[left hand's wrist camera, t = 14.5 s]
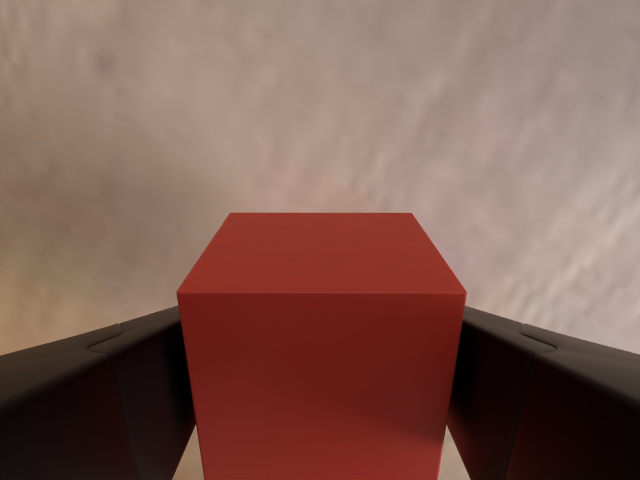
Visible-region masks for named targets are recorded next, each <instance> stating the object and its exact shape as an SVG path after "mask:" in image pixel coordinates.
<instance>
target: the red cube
mask: <svg viewBox="0 0 640 480" xmlns="http://www.w3.org/2000/svg"><path fill="white" fill-rule="evenodd" d="M466 295H467V292H466V290H465V289H464V287H463V286H462V285H461V283H460V282H459V280H458V279H457V277H456V276H455V274H454V273H453V272H452V270H451V269H450V267H449V266H448V264H447V263H446V262H445V260H444V259H443V257H442V256H441V254H440V253H439V251H438V250H437V249H436V247H435V246H434V244H433V243H432V241H431V240H430V239H429V237H428V236H427V234H426V233H425V231H424V230H423V229H422V227H421V226H420V224H419V223H418V221H417V220H416V218H415V217H414V216H413V214H412V213H230V214H229V215H228V217H227V218H226V220H225V221H224V223H223V224H222V226H221V227H220V229H219V230H218V232H217V233H216V235H215V236H214V237H213V239H212V240H211V242H210V243H209V245H208V246H207V248H206V249H205V251H204V252H203V254H202V255H201V257H200V258H199V260H198V261H197V263H196V264H195V265H194V267H193V268H192V270H191V271H190V273H189V274H188V276H187V277H186V279H185V280H184V282H183V283H182V285H181V286H180V288H179V289H178V291H177V299H178V305H179V312H180V319H181V325H182V332H183V339H184V346H185V352H186V359H187V366H188V372H189V379H190V386H191V393H192V399H193V406H194V413H195V419H196V426H197V433H198V440H199V446H200V453H201V460H202V466H203V473H204V480H438V474H439V468H440V461H441V455H442V449H443V442H444V436H445V429H446V423H447V417H448V410H449V404H450V397H451V391H452V384H453V378H454V372H455V365H456V359H457V352H458V346H459V340H460V333H461V327H462V320H463V314H464V308H465V301H466Z"/></svg>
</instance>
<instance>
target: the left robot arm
mask: <svg viewBox="0 0 640 480" xmlns="http://www.w3.org/2000/svg"><path fill="white" fill-rule="evenodd" d="M446 424H447V426H448V429H449V431H450V433H451V436H452V438H453V440H454V442H455V445H456V447H457V449H458V452H459V454H460V456H461V458H462V461H463V463H464V465H465V468H466V470H467V472H468V474H469V477H470V479H471V480H640V355H639V354H635V353H631V352H627V351H624V350H620V349H616V348H612V347H608V346H604V345H601V344H597V343H593V342H589V341H585V340H581V339H578V338H574V337H570V336H567V335H563V334H559V333H556V332H552V331H549V330H545V329H542V328H538V327H535V326H532V325H528V324H523V323H520V322H517V321H513V320H510V319H507V318H504V317H500V316H497V315H494V314H490V313H487V312H484V311H481V310H477V309H474V308H471V307H467V306H465V308H464V314H463V320H462V327H461V333H460V340H459V346H458V352H457V359H456V365H455V372H454V378H453V384H452V391H451V397H450V404H449V410H448V417H447V423H446ZM195 425H196V419H195V413H194V406H193V399H192V393H191V386H190V379H189V372H188V366H187V359H186V352H185V346H184V339H183V332H182V325H181V319H180V312H179V305H178V306H175V307H172V308H168V309H165V310H162V311H159V312H155V313H152V314H149V315H146V316H142V317H139V318H136V319H133V320H129V321H126V322H123V323H120V325H119V324H114V325H111V326H108V327H104V328H101V329H98V330H94V331H91V332H87V333H84V334H80V335H77V336H73V337H69V338H66V339H62V340H58V341H54V342H50V343H47V344H43V345H39V346H35V347H31V348H28V349H24V350H20V351H16V352H12V353H9V354H5V355H1V356H0V480H172V478H173V476H174V474H175V471H176V469H177V467H178V464H179V462H180V460H181V458H182V455H183V453H184V451H185V448H186V446H187V444H188V441H189V439H190V437H191V434H192V432H193V430H194V427H195Z"/></svg>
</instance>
